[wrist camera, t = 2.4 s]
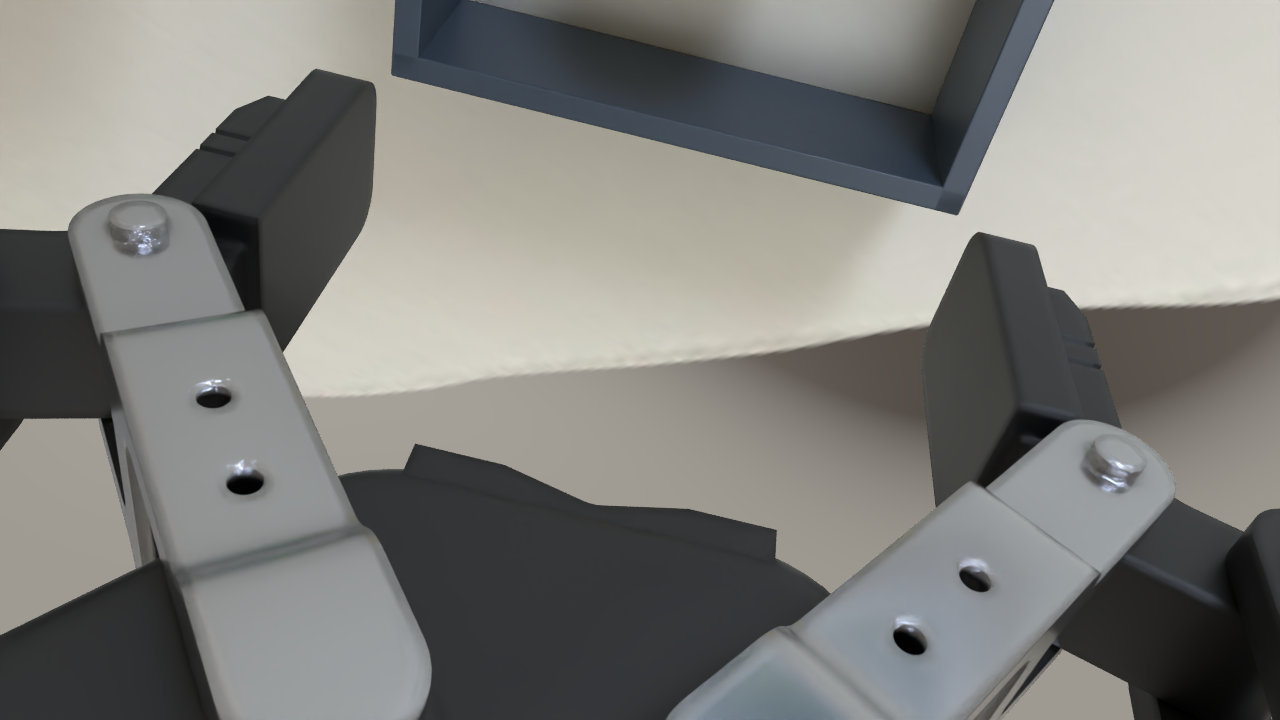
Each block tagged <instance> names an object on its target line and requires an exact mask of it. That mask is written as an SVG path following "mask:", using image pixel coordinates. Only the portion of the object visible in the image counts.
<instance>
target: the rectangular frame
mask: <svg viewBox="0 0 1280 720" xmlns="http://www.w3.org/2000/svg"><path fill="white" fill-rule="evenodd" d="M1053 2H1054V0H977V2H976V4H975V6H974V9H973V11H972V14H971V16H970V19H969V21H968V24H967V26H966V29H965V31H964V34H963V36H962V39H961V41H960V44H959V46H958V49H957V51H956V54H955V56H954V59H953V61H952V64H951V66H950V69H949V71H948V74H947V76H946V79H945V81H944V84H943V86H942V89H941V91H940V94H939V96H938V99H937V101H936V104H935V106H934V108H933V111H932V113H931V115H928V114H924V113H920V112H916V111H912V110H908V109H904V108H900V107H896V106H892V105H888V104H883V103H879V102H875V101H871V100H867V99H863V98H859V97H855V96H851V95H847V94H843V93H839V92H835V91H831V90H827V89H823V88H819V87H815V86H811V85H807V84H803V83H799V82H795V81H791V80H787V79H783V78H779V77H775V76H771V75H767V74H763V73H759V72H755V71H751V70H747V69H743V68H739V67H735V66H731V65H727V64H723V63H719V62H715V61H711V60H707V59H703V58H699V57H695V56H691V55H687V54H683V53H679V52H675V51H671V50H667V49H663V48H659V47H655V46H651V45H647V44H643V43H638V42H634V41H630V40H626V39H622V38H618V37H614V36H610V35H606V34H602V33H598V32H594V31H590V30H586V29H582V28H578V27H574V26H570V25H566V24H562V23H558V22H554V21H550V20H546V19H542V18H538V17H534V16H530V15H526V14H522V13H518V12H514V11H510V10H506V9H502V8H498V7H494V6H490V5H486V4H482V3H478V2H474V1H470V0H395V15H394V33H393V52H392V70H391V74H392V75H393V76H396V77H400V78H404V79H409V80H413V81H417V82H421V83H425V84H429V85H433V86H437V87H441V88H445V89H449V90H453V91H457V92H461V93H465V94H469V95H473V96H477V97H482V98H486V99H490V100H494V101H498V102H502V103H506V104H510V105H514V106H518V107H522V108H526V109H530V110H534V111H538V112H542V113H546V114H550V115H554V116H558V117H562V118H566V119H570V120H574V121H578V122H582V123H586V124H590V125H594V126H598V127H603V128H607V129H611V130H615V131H619V132H623V133H627V134H631V135H635V136H639V137H643V138H647V139H651V140H655V141H659V142H663V143H667V144H671V145H675V146H679V147H683V148H687V149H691V150H695V151H699V152H703V153H707V154H711V155H715V156H719V157H724V158H728V159H732V160H736V161H740V162H744V163H748V164H752V165H756V166H760V167H764V168H768V169H772V170H776V171H780V172H784V173H788V174H792V175H796V176H800V177H804V178H808V179H812V180H816V181H820V182H824V183H828V184H832V185H836V186H840V187H845V188H849V189H853V190H857V191H861V192H865V193H869V194H873V195H877V196H881V197H885V198H889V199H893V200H897V201H901V202H905V203H909V204H913V205H917V206H921V207H925V208H929V209H933V210H937V211H941V212H945V213H949V214H953V215H958V214H959V212H960V210H961V207H962V205H963V203H964V201H965V198H966V196H967V194H968V192H969V190H970V187H971V185H972V183H973V181H974V178H975V176H976V174H977V172H978V169H979V167H980V165H981V163H982V161H983V158H984V156H985V154H986V152H987V149H988V147H989V145H990V143H991V140H992V138H993V136H994V134H995V132H996V129H997V127H998V125H999V123H1000V120H1001V118H1002V116H1003V114H1004V111H1005V109H1006V107H1007V105H1008V103H1009V100H1010V98H1011V96H1012V94H1013V91H1014V89H1015V87H1016V85H1017V82H1018V80H1019V78H1020V76H1021V74H1022V71H1023V69H1024V67H1025V65H1026V62H1027V60H1028V58H1029V56H1030V53H1031V51H1032V49H1033V47H1034V45H1035V42H1036V40H1037V38H1038V36H1039V33H1040V31H1041V29H1042V27H1043V24H1044V22H1045V20H1046V18H1047V15H1048V13H1049V11H1050V9H1051V7H1052V4H1053Z"/></svg>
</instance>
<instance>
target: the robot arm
mask: <svg viewBox="0 0 1280 720" xmlns="http://www.w3.org/2000/svg"><path fill="white" fill-rule="evenodd" d="M375 125H376V89H375V86H374V84H373V83H372V82H369V81H364V80H360V79H356V78H352V77H348V76H344V75H340V74H336V73H332V72H328V71H323V70H319V69H315V70H313V71H312V72H311V73H310V74H309V75H308V76H307V77H306V78H305V79H304V80H303V81H302V82H301V83H300V85H299V86H298V87H297V88H296V89H295V90H294V91H293V92H292V93H291V94H290V95H289V97H288V98H287V99H286V100H284V99H280V98H276V97H271V96H266V97H264V98H262V99H259V100H257V101H254V102H252V103H249V104H247V105H245V106H242V107H240V108H237V109H235V110H234V111H233V112H232V113H231V114H230V115H229V116H228V117H227V118H226V119H225V120H224V121H223V122H222V123H221V124H220V125H219V126H218V127H217V128H216V132H215V133H211V134H210V135H209V137H208V138H207V139H206V140H205V141H204V142H203V143H202V144H201V145H200V149H196V150H195V151H194V152H193V153H192V154H191V155H190V156H189V157H188V158H187V159H186V160H185V161H184V162H183V163H182V164H181V165H180V166H179V167H178V168H177V169H176V170H175V171H174V172H173V173H172V174H171V175H170V176H169V177H168V178H167V179H166V180H165V181H164V182H163V183H162V184H161V185H160V186H159V187H158V188H157V189H156V190H155V191H154V192H153V193H152V194H126V195H119V196H114V197H110V198H106V199H103V200H100V201H97V202H94V203H92V204H90V205H88V206H86V207H85V208H83V209H82V210H81V211H79V212H78V213H77V214H76V215H75V216H74V217H73V218H72V220H71V222H70V223H69V227H68V231H35V230H10V229H0V450H1V449H2V447H3V446H4V445H5V443H6V442H7V441H8V440H9V438H10V437H11V436H12V434H13V433H14V432H15V430H16V429H17V428H18V427H19V425H20V424H21V423H22V421H23V419H24V418H25V419H28V418H29V419H37V418H38V419H42V418H43V419H44V418H45V419H46V418H47V419H48V418H49V419H50V418H98V419H99V425H100V429H101V433H102V437H103V440H104V444H105V448H106V452H107V455H108V459H109V463H110V466H111V470H112V474H113V478H114V482H115V486H116V489H117V493H118V497H119V501H120V504H121V508H122V512H123V516H124V519H125V523H126V527H127V530H128V535H129V539H130V543H131V548H132V552H133V557H134V562H135V567H136V569H135V570H133V571H131V572H129V573H126V574H124V575H122V576H120V577H118V578H116V579H114V580H112V581H110V582H108V583H106V584H104V585H102V586H100V587H98V588H96V589H94V590H92V591H90V592H88V593H86V594H84V595H82V596H80V597H78V598H76V599H74V600H72V601H69V602H68V603H65V604H63V605H61V606H59V607H57V608H55V609H53V610H51V611H49V612H47V613H45V614H43V615H41V616H39V617H37V618H35V619H33V620H31V621H29V622H27V623H25V624H23V625H21V626H19V627H17V628H14V629H12V630H10V631H8V632H6V633H4V634H2V635H0V720H1002V719H1003V718H1004V716H1005V715H1006V714H1007V713H1008V712H1009V711H1010V709H1011V708H1012V707H1013V706H1014V705H1015V704H1016V703H1017V702H1018V701H1019V699H1020V698H1021V697H1022V696H1023V695H1024V694H1025V692H1027V690H1028V689H1029V688H1030V687H1031V685H1033V684H1034V682H1035V681H1036V680H1037V679H1038V678H1039V677H1040V675H1041V674H1042V673H1043V672H1044V671H1045V670H1046V669H1047V668H1048V667H1049V665H1050V664H1051V663H1052V662H1053V661H1054V660H1055V658H1056V657H1057V656H1058V655H1059V654H1060V653H1061V651H1062V650H1063V649H1064V650H1066V651H1068V652H1069V653H1071V654H1073V655H1075V656H1077V657H1079V658H1081V659H1083V660H1085V661H1087V662H1089V663H1091V664H1093V665H1095V666H1097V667H1098V668H1101V669H1102V670H1104V671H1106V672H1108V673H1110V674H1112V675H1114V676H1116V677H1118V678H1120V679H1122V680H1124V681H1126V682H1128V685H1129V693H1130V697H1131V704H1132V709H1133V714H1134V720H1280V509H1270V510H1267V511H1264V512H1262V513H1260V514H1259V515H1258V516H1257V517H1256V518H1255V519H1254V520H1253V522H1252V523H1251V524H1250V525H1249V527H1248V528H1247V529H1246V530H1245V531H1244V532H1243V531H1241V530H1239V529H1237V528H1234V527H1232V526H1230V525H1228V524H1225V523H1224V522H1221V521H1219V520H1217V519H1215V518H1213V517H1211V516H1209V515H1207V514H1204V513H1202V512H1200V511H1198V510H1196V509H1193V508H1191V507H1190V506H1188V505H1186V504H1184V503H1182V502H1180V501H1179V500H1177V499H1176V498H1174V497H1175V493H1176V483H1175V479H1174V476H1173V474H1172V472H1171V470H1170V468H1169V467H1168V466H1167V464H1166V463H1165V461H1164V460H1163V459H1162V458H1161V457H1160V456H1159V455H1158V454H1157V453H1156V452H1155V451H1154V450H1153V449H1152V448H1151V447H1150V446H1148V445H1147V444H1146V443H1144V442H1143V441H1141V440H1140V439H1139V438H1137V437H1135V436H1134V435H1132V434H1130V433H1128V432H1126V431H1124V430H1122V428H1121V424H1120V421H1119V418H1118V415H1117V412H1116V409H1115V405H1114V402H1113V399H1112V396H1111V393H1110V390H1109V387H1108V383H1107V380H1106V377H1105V374H1104V371H1103V370H1100V368H1101V362H1100V358H1099V355H1098V352H1097V349H1094V345H1095V343H1094V340H1093V337H1092V334H1091V330H1090V327H1089V324H1088V321H1087V318H1086V317H1085V316H1084V314H1083V313H1082V312H1081V311H1080V309H1079V308H1078V307H1077V306H1076V305H1075V304H1074V302H1073V301H1072V300H1071V299H1070V298H1069V296H1068V295H1067V294H1066V293H1065V292H1064V291H1062V290H1058V289H1054V288H1050V287H1047V283H1046V280H1045V276H1044V273H1043V269H1042V266H1041V262H1040V259H1039V255H1038V251H1037V249H1036V247H1035V246H1034V245H1031V244H1027V243H1023V242H1019V241H1015V240H1011V239H1006V238H1002V237H998V236H994V235H990V234H986V233H982V232H977V233H976V234H975V235H974V236H973V237H972V238H971V239H970V241H969V243H968V244H967V246H966V248H965V250H964V253H963V255H962V257H961V259H960V261H959V263H958V266H957V268H956V270H955V272H954V274H953V276H952V279H951V281H950V283H949V285H948V287H947V289H946V292H945V294H944V296H943V298H942V300H941V302H940V305H939V307H938V309H937V311H936V313H935V315H934V318H933V320H932V322H931V324H930V327H929V329H928V332H927V335H926V339H925V342H924V347H923V352H922V360H921V374H922V384H923V393H924V402H925V412H926V420H927V431H928V439H929V448H930V459H931V468H932V477H933V486H934V495H935V505H936V508H935V509H934V510H933V511H931V513H929V514H928V515H927V516H925V517H924V518H923V519H922V520H921V521H920V522H918V523H917V524H916V525H914V526H913V527H912V528H911V529H910V530H908V531H907V532H906V533H905V534H903V535H902V536H901V537H900V538H898V539H897V540H896V541H895V542H894V543H893V544H891V545H890V546H889V547H888V548H886V549H885V550H884V551H883V552H881V553H880V554H879V555H878V556H877V557H875V558H874V559H873V560H872V561H870V562H869V563H868V564H867V565H866V566H864V567H863V568H862V569H861V570H859V571H858V572H857V573H856V574H855V575H853V576H852V577H851V578H850V579H848V580H847V581H846V582H845V583H844V584H842V585H841V586H840V587H839V588H838V589H836V590H835V591H834V592H833V593H829V592H828V591H827V590H826V589H825V588H824V587H822V586H821V585H819V584H818V583H817V582H815V581H814V580H813V579H811V578H810V577H808V576H807V575H806V574H804V573H802V572H801V571H799V570H797V569H795V568H793V567H792V566H790V565H789V564H787V563H785V562H782V561H780V560H778V559H776V558H775V553H776V532H777V530H774V529H770V528H766V527H762V526H757V525H753V524H749V523H745V522H741V521H736V520H732V519H728V518H724V517H720V516H716V515H711V514H707V513H703V512H699V511H694V510H690V509H677V508H651V507H627V506H626V507H625V506H601V505H594V504H590V503H587V502H584V501H582V500H580V499H578V498H575V497H573V496H571V495H569V494H567V493H564V492H562V491H560V490H558V489H556V488H554V487H551V486H549V485H547V484H544V483H543V482H540V481H538V480H536V479H534V478H532V477H529V476H527V475H525V474H523V473H521V472H519V471H516V470H514V469H512V468H510V467H508V466H505V465H502V464H497V463H494V462H490V461H485V460H481V459H477V458H473V457H469V456H465V455H460V454H456V453H452V452H448V451H444V450H439V449H435V448H431V447H427V446H422V445H418V444H415V446H414V448H413V450H412V452H411V455H410V457H409V459H408V461H407V463H406V466H405V468H404V469H383V470H368V471H362V472H355V473H348V474H344V475H340V476H338V475H337V473H336V471H335V468H334V466H333V464H332V462H331V460H330V457H329V455H328V453H327V451H326V448H325V446H324V444H323V442H322V440H321V437H320V435H319V433H318V430H317V428H316V426H315V424H314V422H313V419H312V417H311V415H310V413H309V410H308V408H307V406H306V404H305V401H304V399H303V397H302V395H301V392H300V390H299V388H298V386H297V384H296V381H295V379H294V377H293V375H292V372H291V370H290V368H289V366H288V363H287V361H286V359H285V357H284V355H283V352H284V350H285V348H286V347H287V345H288V344H289V342H290V341H291V339H292V338H293V336H294V335H295V333H296V331H297V330H298V328H299V327H300V325H301V324H302V322H303V321H304V319H305V318H306V316H307V314H308V313H309V311H310V310H311V308H312V307H313V305H314V304H315V302H316V300H317V299H318V297H319V296H320V294H321V293H322V291H323V290H324V288H325V287H326V285H327V283H328V282H329V280H330V279H331V277H332V276H333V274H334V273H335V271H336V270H337V268H338V266H339V265H340V263H341V262H342V260H343V259H344V257H345V256H346V254H347V253H348V251H349V249H350V248H351V246H352V245H353V243H354V242H355V240H356V239H357V237H358V235H359V234H360V232H361V230H362V228H363V226H364V224H365V221H366V218H367V215H368V211H369V207H370V203H371V197H372V189H373V170H374V147H375ZM1271 716H1272V719H1271Z"/></svg>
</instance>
